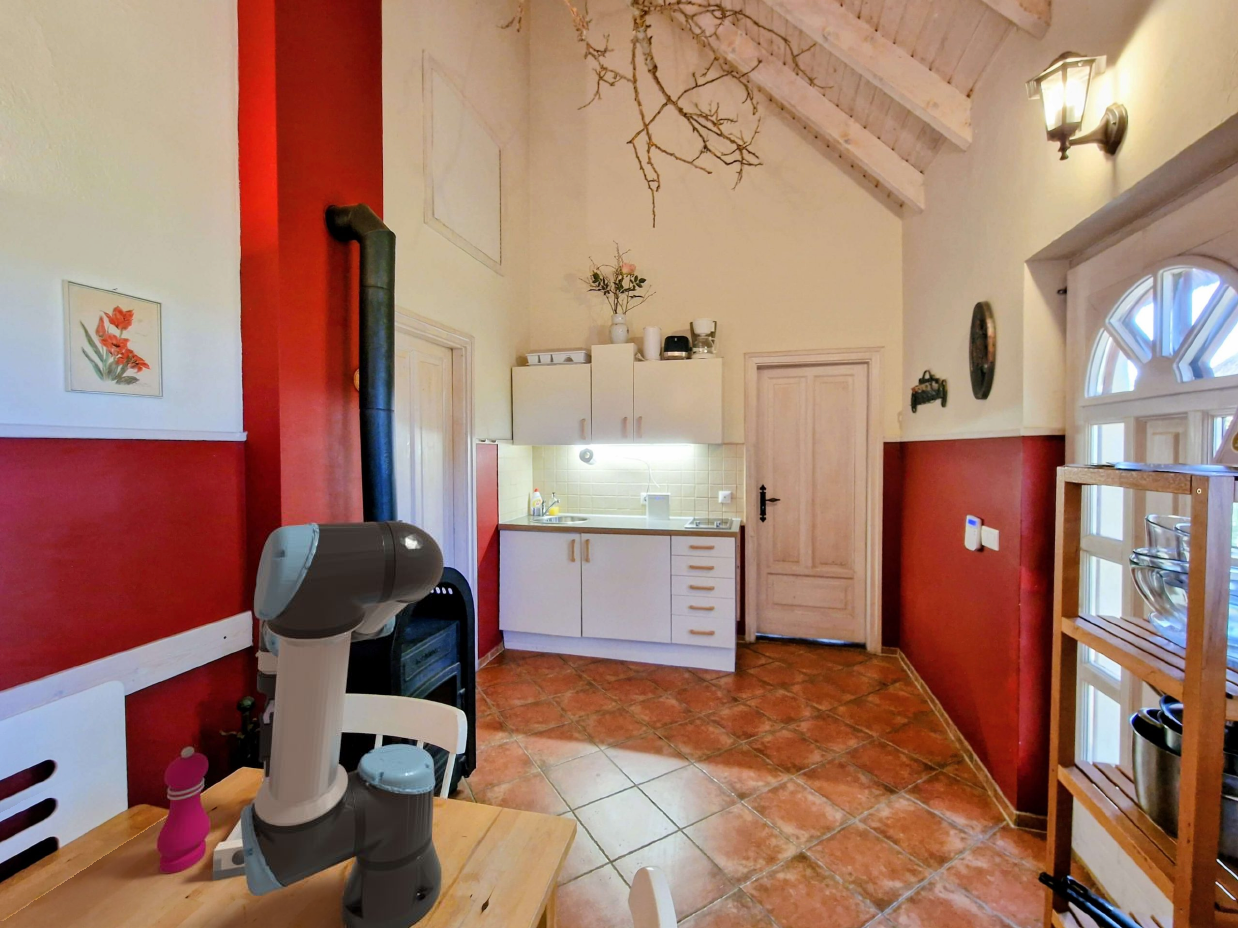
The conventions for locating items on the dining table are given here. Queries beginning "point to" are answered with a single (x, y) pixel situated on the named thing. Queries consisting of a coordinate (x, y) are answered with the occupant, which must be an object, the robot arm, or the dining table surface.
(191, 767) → the pepper mill
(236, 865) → the rail track
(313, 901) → the dining table surface
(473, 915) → the dining table surface
